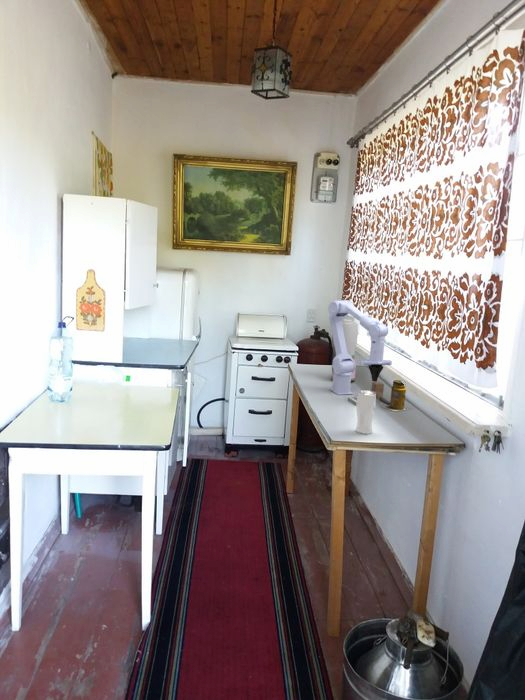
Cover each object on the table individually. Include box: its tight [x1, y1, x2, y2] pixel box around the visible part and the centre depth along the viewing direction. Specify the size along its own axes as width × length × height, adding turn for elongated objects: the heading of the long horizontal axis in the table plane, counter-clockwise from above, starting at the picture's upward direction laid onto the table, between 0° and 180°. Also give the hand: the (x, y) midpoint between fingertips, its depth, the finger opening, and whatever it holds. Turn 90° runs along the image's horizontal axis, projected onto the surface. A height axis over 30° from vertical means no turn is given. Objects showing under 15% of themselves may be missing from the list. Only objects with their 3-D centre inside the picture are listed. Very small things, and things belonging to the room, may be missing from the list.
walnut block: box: [370, 381, 385, 400], centre depth 244 cm, size 4×4×7 cm
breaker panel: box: [347, 395, 358, 407], centre depth 234 cm, size 10×8×2 cm
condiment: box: [382, 379, 407, 412], centre depth 228 cm, size 7×8×12 cm
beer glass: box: [355, 390, 377, 435], centre depth 195 cm, size 7×7×15 cm
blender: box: [330, 318, 359, 382], centre depth 271 cm, size 16×12×32 cm
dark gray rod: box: [378, 397, 390, 405], centre depth 238 cm, size 9×1×1 cm, turn 16°
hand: (374, 381), depth 234 cm, fingers closed
